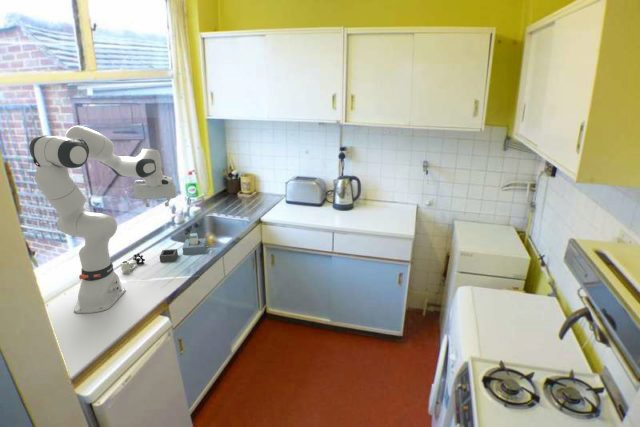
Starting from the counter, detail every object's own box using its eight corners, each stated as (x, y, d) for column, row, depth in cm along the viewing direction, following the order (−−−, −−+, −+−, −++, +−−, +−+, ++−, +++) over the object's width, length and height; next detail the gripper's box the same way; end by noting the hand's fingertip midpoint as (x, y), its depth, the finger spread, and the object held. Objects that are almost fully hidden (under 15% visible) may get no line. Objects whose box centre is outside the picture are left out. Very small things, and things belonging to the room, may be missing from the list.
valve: (129, 276, 189) (146, 265, 200) (127, 264, 187) (144, 254, 198) (118, 275, 191) (135, 264, 202) (116, 263, 188) (133, 252, 199)
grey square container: (175, 262, 202) (174, 255, 201) (160, 264, 201) (159, 256, 200) (178, 256, 209) (177, 249, 208) (163, 257, 208) (162, 249, 207)
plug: (198, 250, 213) (196, 235, 210) (191, 251, 213) (189, 236, 210) (199, 247, 217) (197, 233, 214) (192, 248, 216) (190, 233, 213)
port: (204, 254, 211) (203, 246, 209) (183, 256, 209) (182, 247, 208) (206, 246, 221) (205, 237, 219) (186, 247, 220) (185, 239, 218)
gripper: (130, 182, 190) (134, 208, 194) (173, 181, 193) (176, 207, 197) (134, 179, 196) (138, 205, 200) (176, 178, 199) (179, 203, 203)
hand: (157, 206), depth 199 cm, fingers open, 8 cm apart
